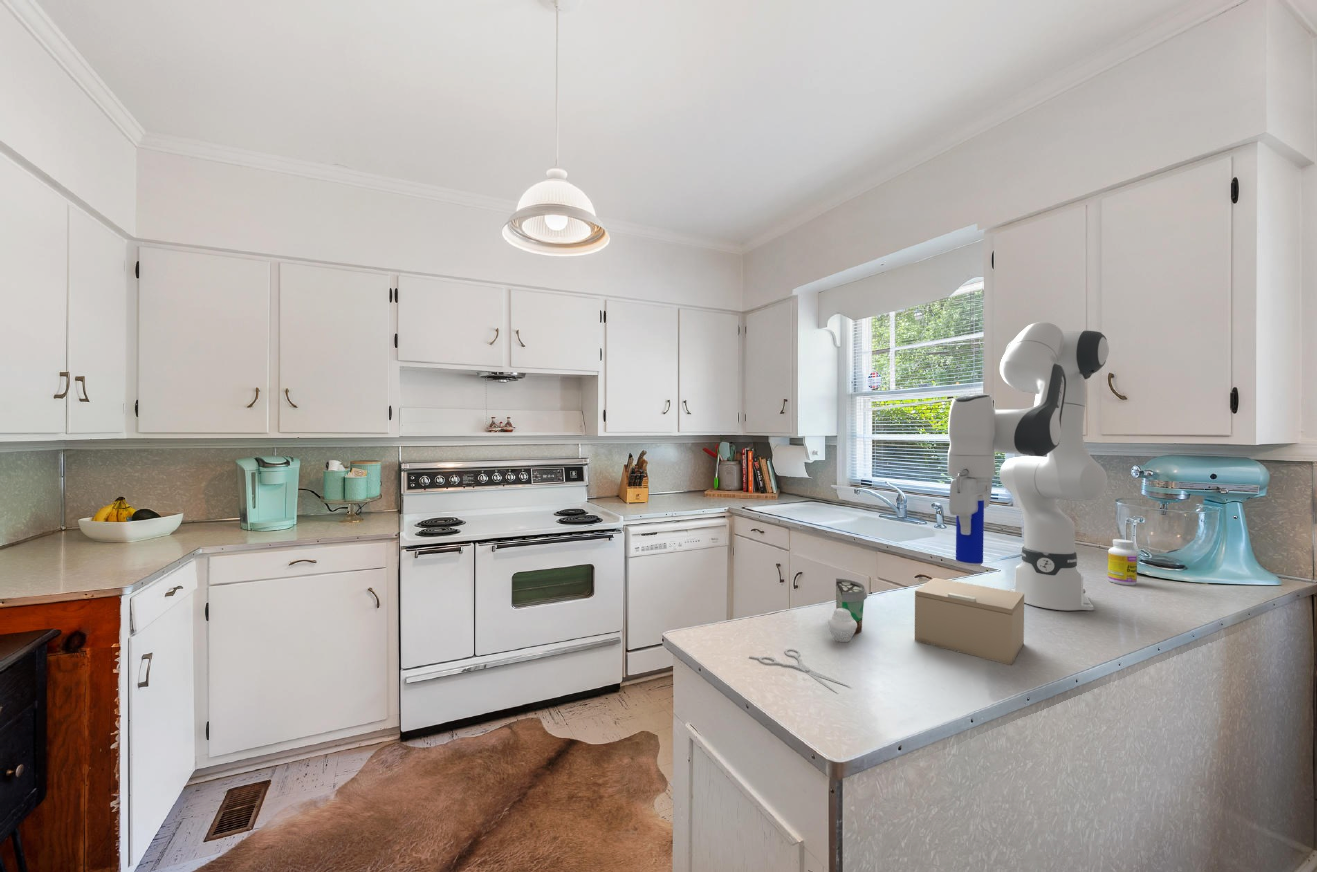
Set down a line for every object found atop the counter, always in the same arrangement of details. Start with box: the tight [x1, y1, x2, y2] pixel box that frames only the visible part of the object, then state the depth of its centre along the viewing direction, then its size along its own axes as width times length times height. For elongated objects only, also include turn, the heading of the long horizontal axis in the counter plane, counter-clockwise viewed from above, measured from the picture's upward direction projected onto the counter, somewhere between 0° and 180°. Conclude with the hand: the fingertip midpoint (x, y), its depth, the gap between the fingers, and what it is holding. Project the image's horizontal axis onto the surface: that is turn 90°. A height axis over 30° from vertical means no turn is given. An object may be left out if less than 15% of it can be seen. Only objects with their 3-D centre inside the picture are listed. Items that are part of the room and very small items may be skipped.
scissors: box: [748, 648, 853, 695], centre depth 104 cm, size 11×1×20 cm
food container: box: [835, 578, 868, 635], centre depth 125 cm, size 12×6×10 cm, turn 168°
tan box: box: [914, 594, 1025, 666], centre depth 117 cm, size 14×18×10 cm
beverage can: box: [955, 495, 985, 567], centre depth 117 cm, size 5×5×15 cm
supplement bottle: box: [1107, 538, 1138, 586], centre depth 163 cm, size 7×7×13 cm
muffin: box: [827, 608, 857, 643], centre depth 119 cm, size 6×6×7 cm
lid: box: [914, 577, 1024, 614], centre depth 117 cm, size 14×18×2 cm
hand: (970, 532), depth 117 cm, fingers closed on beverage can, 5 cm apart
